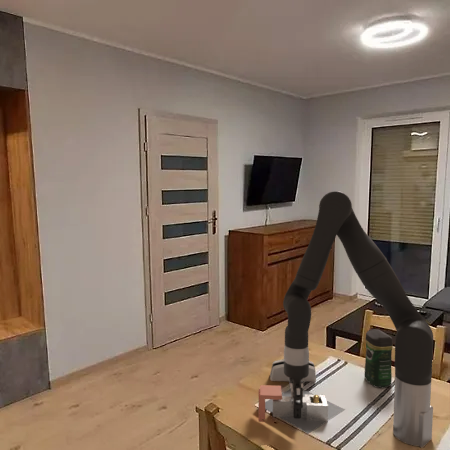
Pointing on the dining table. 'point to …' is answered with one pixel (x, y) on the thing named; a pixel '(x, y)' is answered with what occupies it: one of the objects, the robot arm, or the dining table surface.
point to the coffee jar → (378, 358)
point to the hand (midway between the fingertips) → (295, 409)
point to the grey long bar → (308, 411)
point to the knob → (316, 399)
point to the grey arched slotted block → (279, 375)
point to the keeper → (267, 397)
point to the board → (302, 422)
